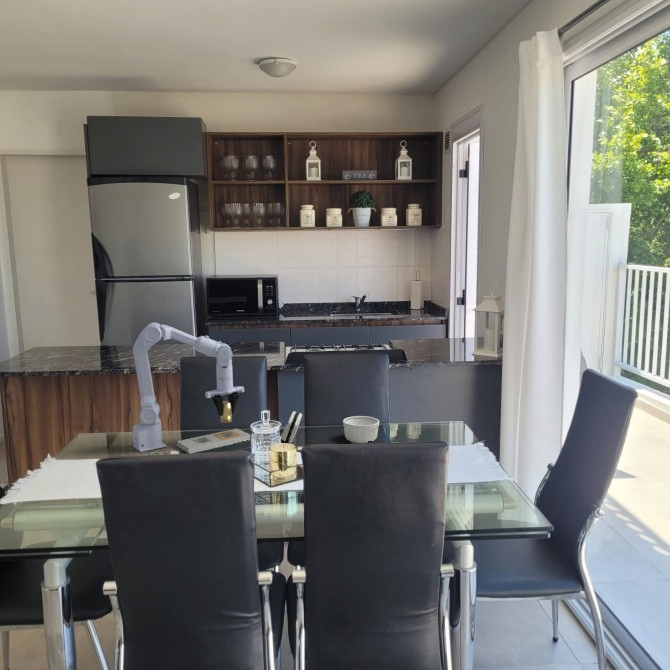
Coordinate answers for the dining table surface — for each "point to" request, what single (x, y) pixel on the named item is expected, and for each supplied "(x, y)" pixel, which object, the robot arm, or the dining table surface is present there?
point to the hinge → (291, 427)
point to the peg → (226, 412)
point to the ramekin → (361, 429)
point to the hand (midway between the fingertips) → (226, 414)
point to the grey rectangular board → (213, 440)
